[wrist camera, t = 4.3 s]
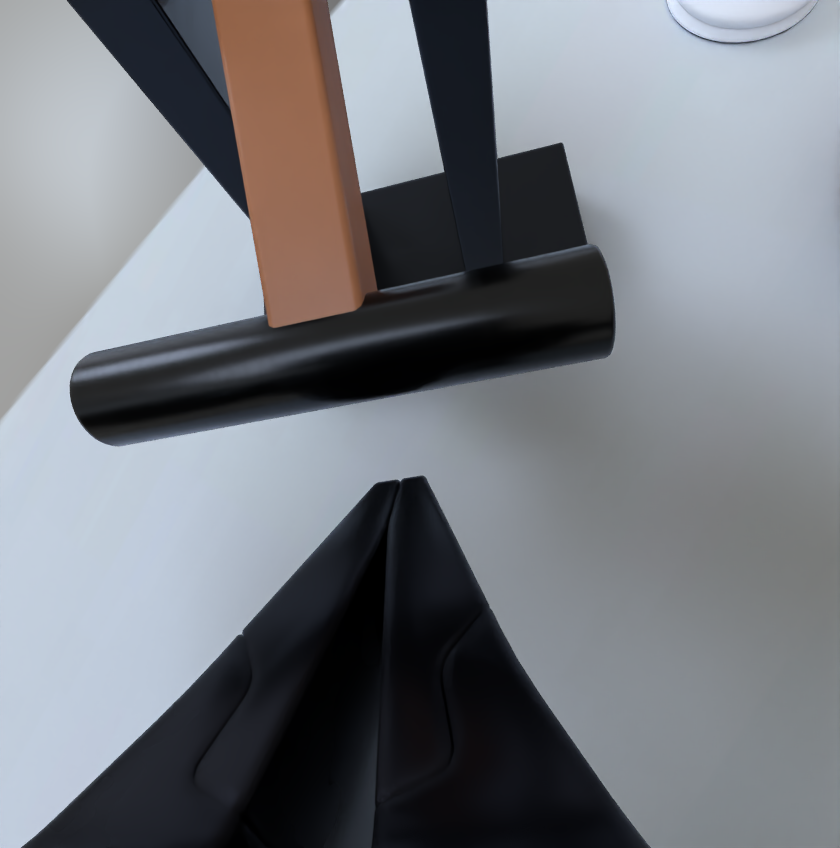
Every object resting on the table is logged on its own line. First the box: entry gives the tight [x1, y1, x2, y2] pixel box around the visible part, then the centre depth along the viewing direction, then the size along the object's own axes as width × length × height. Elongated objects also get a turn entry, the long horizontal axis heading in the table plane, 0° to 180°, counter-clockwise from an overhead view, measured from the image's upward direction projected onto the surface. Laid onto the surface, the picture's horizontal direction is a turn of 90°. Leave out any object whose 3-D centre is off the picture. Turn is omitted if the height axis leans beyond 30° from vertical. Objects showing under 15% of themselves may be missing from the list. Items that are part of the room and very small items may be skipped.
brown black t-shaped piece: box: [70, 0, 616, 446], centre depth 6 cm, size 9×6×2 cm, turn 7°
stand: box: [67, 0, 588, 315], centre depth 11 cm, size 5×10×14 cm, turn 97°
